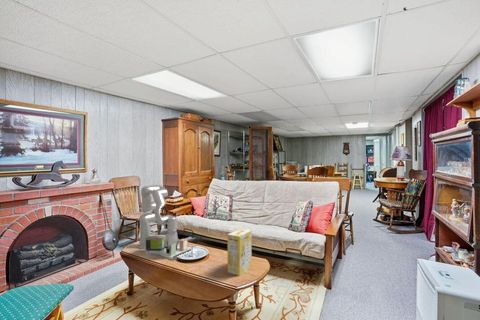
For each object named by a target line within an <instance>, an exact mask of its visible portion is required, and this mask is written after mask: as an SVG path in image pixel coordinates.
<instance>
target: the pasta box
mask: <svg viewBox="0 0 480 320" xmlns="http://www.w3.org/2000/svg"><path fill="white" fill-rule="evenodd" d="M252 238H253V237H252V230H251V229H246V228H240V227H239V228H238V229H236V230H234V231H232V232H230V233H228V234H227V264H226V265H227V266H226V267H227V273H228V274H232V275H235V276H239V277H240V276H241V275H243V274H244V273H245V272H246V271H248V269H250V268H251V267H252V261H253V260H252V257H253V256H252V246H253V244H252V240H253V239H252Z"/></svg>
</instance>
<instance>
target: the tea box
mask: <svg viewBox="0 0 480 320" xmlns="http://www.w3.org/2000/svg"><path fill="white" fill-rule="evenodd" d="M165 240H166V234H151V235H150V236H148V237H147V238H146V249H145V255H157V256H158V255H160V256H161V250H163V249H166V248H165V247H164V246H163V245H164V244H165Z"/></svg>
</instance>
